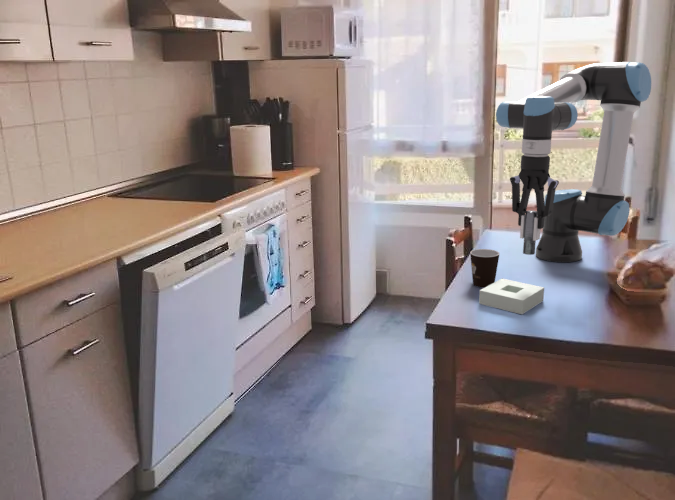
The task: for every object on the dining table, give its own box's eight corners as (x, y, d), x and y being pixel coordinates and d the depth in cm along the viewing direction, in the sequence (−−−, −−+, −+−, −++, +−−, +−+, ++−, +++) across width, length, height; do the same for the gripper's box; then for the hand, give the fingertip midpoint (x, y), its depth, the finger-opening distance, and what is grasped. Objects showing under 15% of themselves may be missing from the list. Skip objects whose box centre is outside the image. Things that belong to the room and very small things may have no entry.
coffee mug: (498, 289, 188) (500, 257, 185) (469, 288, 190) (470, 256, 187) (497, 277, 199) (498, 246, 196) (469, 276, 201) (470, 245, 198)
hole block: (501, 291, 187) (502, 278, 185) (543, 300, 178) (544, 287, 177) (479, 303, 177) (479, 290, 176) (522, 314, 169) (522, 300, 168)
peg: (526, 251, 180) (528, 210, 177) (536, 253, 178) (539, 211, 175) (520, 253, 178) (523, 211, 175) (531, 255, 176) (534, 213, 173)
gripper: (501, 154, 173) (497, 236, 180) (558, 158, 163) (551, 245, 169) (514, 151, 179) (509, 231, 185) (570, 155, 168) (563, 240, 175)
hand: (529, 238), depth 177 cm, fingers closed on peg, 3 cm apart
